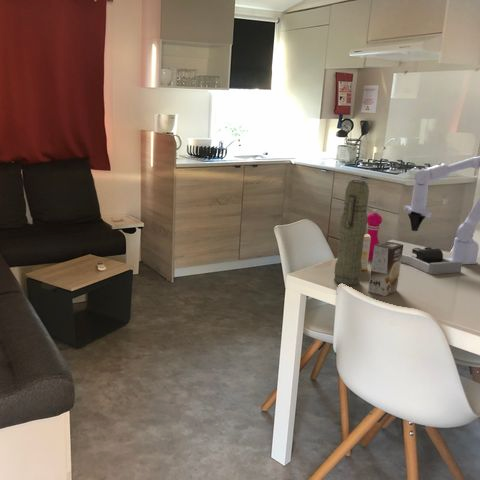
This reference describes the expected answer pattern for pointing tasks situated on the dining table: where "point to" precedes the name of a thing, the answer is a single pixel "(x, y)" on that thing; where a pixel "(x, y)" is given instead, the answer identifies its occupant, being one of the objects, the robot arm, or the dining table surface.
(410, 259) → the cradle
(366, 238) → the cream bottle
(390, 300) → the dining table surface
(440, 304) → the dining table surface
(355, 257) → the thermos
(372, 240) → the pepper mill
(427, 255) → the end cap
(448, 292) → the dining table surface
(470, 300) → the dining table surface
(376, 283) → the coffee box
